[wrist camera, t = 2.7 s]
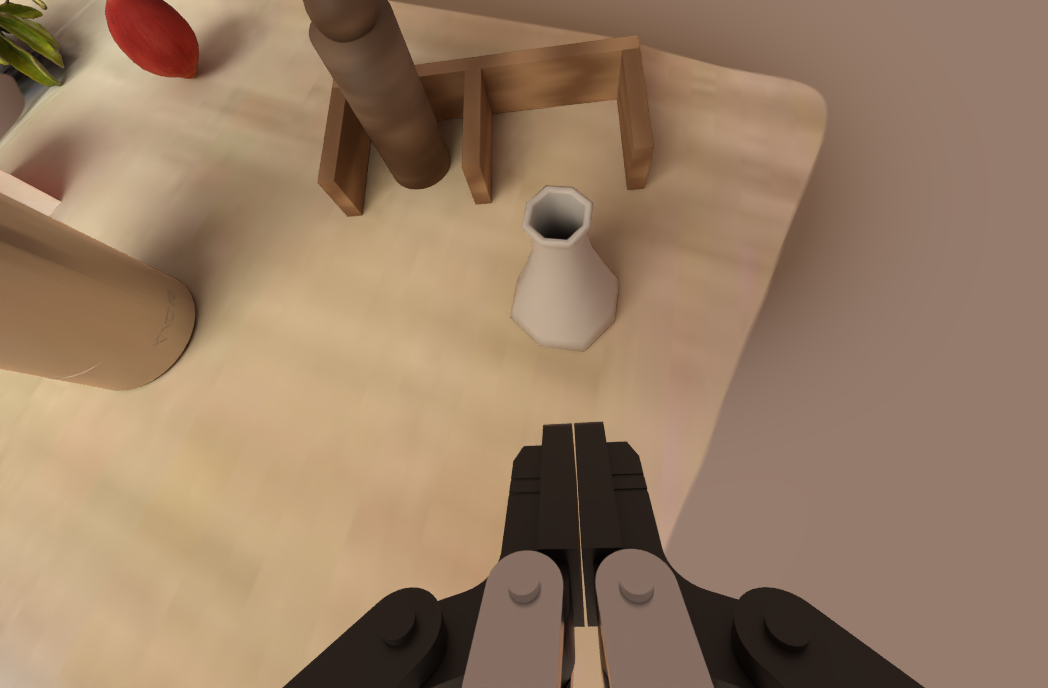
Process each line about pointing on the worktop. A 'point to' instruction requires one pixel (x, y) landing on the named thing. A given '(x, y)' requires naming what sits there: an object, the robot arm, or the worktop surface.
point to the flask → (563, 274)
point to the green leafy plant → (34, 35)
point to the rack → (501, 109)
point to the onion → (154, 36)
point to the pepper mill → (380, 85)
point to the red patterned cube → (27, 194)
